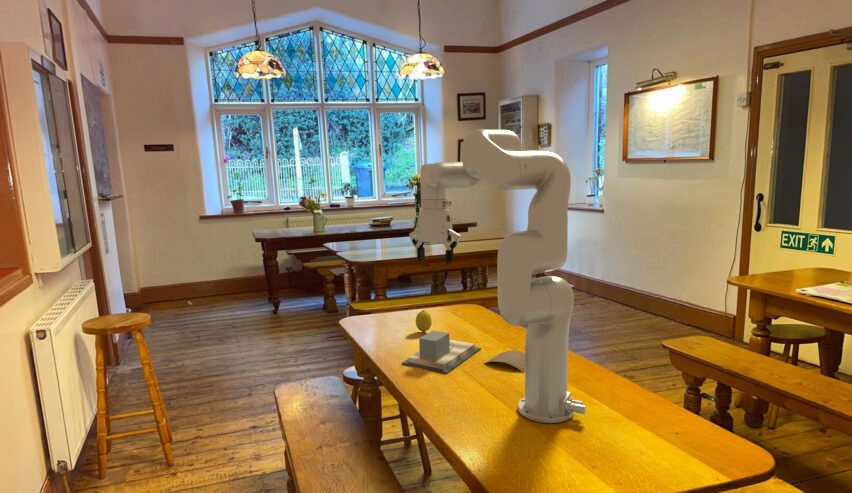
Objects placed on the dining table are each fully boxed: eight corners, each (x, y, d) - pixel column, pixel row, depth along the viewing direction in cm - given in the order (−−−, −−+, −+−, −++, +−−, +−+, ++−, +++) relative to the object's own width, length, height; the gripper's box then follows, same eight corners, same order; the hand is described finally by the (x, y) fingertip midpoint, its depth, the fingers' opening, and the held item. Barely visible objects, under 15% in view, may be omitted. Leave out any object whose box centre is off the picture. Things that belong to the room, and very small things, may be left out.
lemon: (413, 334, 176) (413, 311, 175) (418, 329, 182) (418, 307, 180) (429, 335, 175) (428, 312, 174) (433, 330, 180) (433, 308, 179)
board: (439, 341, 168) (439, 336, 168) (481, 349, 160) (480, 343, 160) (401, 364, 150) (401, 357, 149) (446, 374, 142) (446, 367, 142)
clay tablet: (541, 364, 149) (541, 355, 149) (527, 376, 141) (527, 366, 141) (496, 354, 157) (496, 346, 157) (480, 365, 149) (480, 356, 149)
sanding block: (433, 349, 155) (433, 330, 155) (449, 352, 153) (449, 333, 152) (419, 358, 149) (419, 338, 148) (436, 361, 146) (435, 341, 145)
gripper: (465, 204, 153) (466, 261, 155) (415, 204, 161) (417, 258, 164) (453, 206, 146) (454, 265, 149) (402, 205, 155) (404, 261, 157)
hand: (435, 261), depth 156 cm, fingers open, 9 cm apart
